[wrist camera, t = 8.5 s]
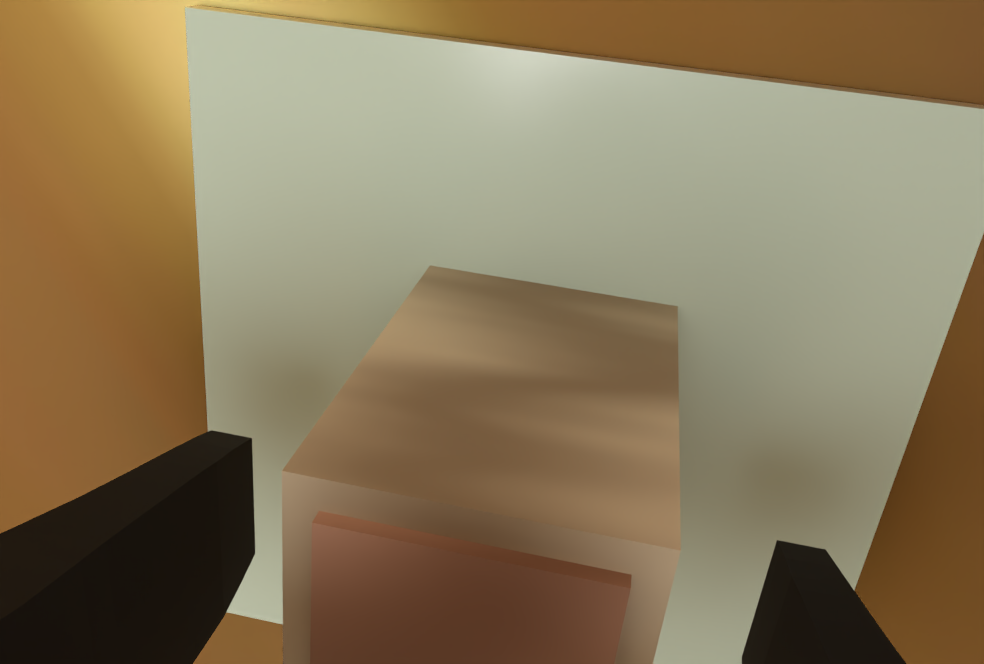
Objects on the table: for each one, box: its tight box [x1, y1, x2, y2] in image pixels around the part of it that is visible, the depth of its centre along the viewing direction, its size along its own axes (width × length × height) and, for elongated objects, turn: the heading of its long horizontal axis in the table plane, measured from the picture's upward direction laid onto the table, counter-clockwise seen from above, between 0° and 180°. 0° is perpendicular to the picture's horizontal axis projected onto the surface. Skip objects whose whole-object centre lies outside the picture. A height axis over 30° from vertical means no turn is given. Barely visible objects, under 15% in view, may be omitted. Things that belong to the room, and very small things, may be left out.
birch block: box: [282, 265, 681, 664], centre depth 12 cm, size 4×4×6 cm
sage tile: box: [185, 5, 984, 664], centre depth 15 cm, size 12×12×1 cm
